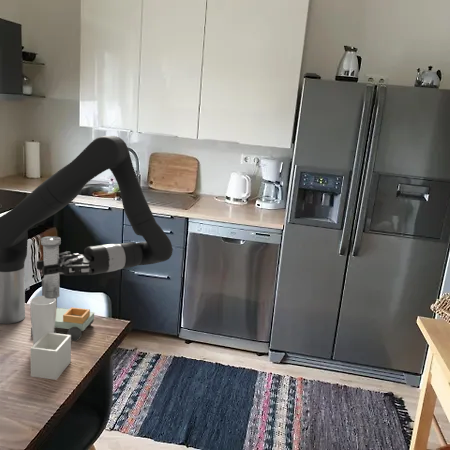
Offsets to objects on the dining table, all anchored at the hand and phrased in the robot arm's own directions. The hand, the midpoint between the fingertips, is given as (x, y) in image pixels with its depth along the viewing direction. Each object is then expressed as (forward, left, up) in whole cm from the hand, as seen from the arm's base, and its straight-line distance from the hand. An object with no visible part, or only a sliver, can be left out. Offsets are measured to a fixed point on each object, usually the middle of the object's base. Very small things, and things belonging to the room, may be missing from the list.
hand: (40, 268), depth 115 cm
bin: (+2, +2, -29) cm, 29 cm away
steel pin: (+2, +2, -8) cm, 8 cm away
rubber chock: (-10, +18, -29) cm, 35 cm away
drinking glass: (-5, +11, -29) cm, 31 cm away
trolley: (-3, +23, -29) cm, 37 cm away
